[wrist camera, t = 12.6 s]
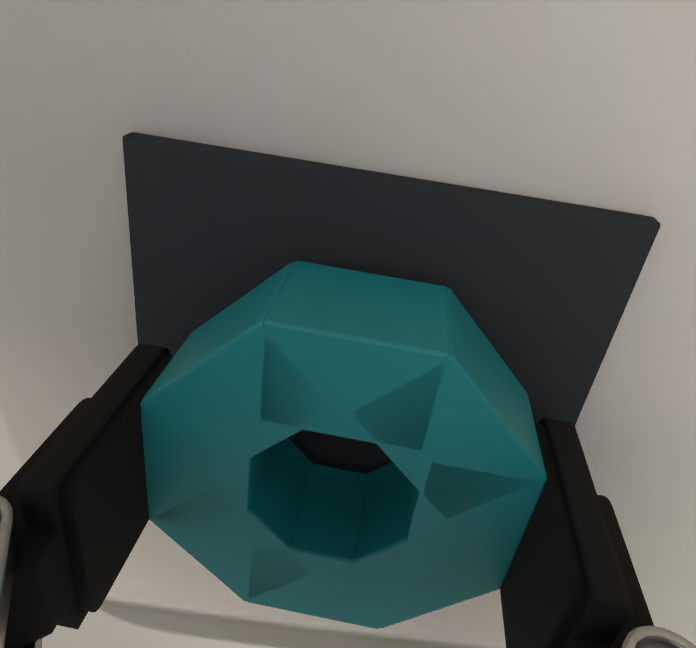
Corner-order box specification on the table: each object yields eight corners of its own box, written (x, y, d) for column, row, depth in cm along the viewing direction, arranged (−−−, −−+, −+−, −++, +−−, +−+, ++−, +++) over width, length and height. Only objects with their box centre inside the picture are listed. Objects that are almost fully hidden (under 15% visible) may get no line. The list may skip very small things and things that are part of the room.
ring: (193, 499, 14) (151, 583, 12) (188, 239, 11) (129, 297, 9) (470, 553, 14) (476, 651, 12) (561, 304, 10) (591, 380, 8)
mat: (155, 494, 16) (149, 505, 16) (130, 131, 11) (121, 135, 11) (509, 564, 15) (510, 576, 15) (654, 216, 10) (662, 223, 10)
